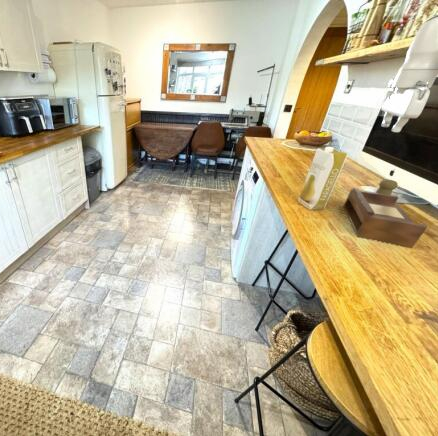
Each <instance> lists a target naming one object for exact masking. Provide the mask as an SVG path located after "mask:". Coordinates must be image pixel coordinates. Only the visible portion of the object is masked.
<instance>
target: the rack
mask: <svg viewBox="0 0 438 436" xmlns="http://www.w3.org/2000/svg"><path fill="white" fill-rule="evenodd" d="M375 192H376V191H375ZM375 192H373V191H369V190H368V191H367V190H361V189H360V188H357V187H356V188H355V187H353V188H351V190H350V191H349V193H348V196H347V198H346V200H345V202H344V204H343V206H342V208H343V210H344V211H345V214H346V216H347V218H348V220H349V223H350V225H351V227H352V229H353V231H354V234H355V235H357V236H356V238H360V237H361V238H360V239H364V238H366V240H369V239H372V240H371V241H374V240H377V241H376V242H379V241H381V242H380V243H384V242H386V243H385V244H388V243H391V244H390V245H393V244H396V245H395V246H398V245H400V246H399V247H402V248H408V249H413V248H414V246H415V245H416V243H417V242H419V240H420V238H421V236H422V235H423V234H424V232H426V230H427V228H428V226H427V225H426V224H423V223H419V222H414V220H413V219H412V218H411V217H410V216H409V214H407V213H406V211H404V210H403V208H401V206H400V205H399V204H398V202H397V201H398V199H399V196H398V195H395V194H391V195H389V194H382V193H375Z"/></svg>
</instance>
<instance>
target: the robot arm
mask: <svg viewBox="0 0 438 436" xmlns="http://www.w3.org/2000/svg"><path fill="white" fill-rule="evenodd" d="M405 55H406V56H405V60H404V61H403V64H402V65H401V66H400V68H399V70H397V73H396V75H395V77H393V78H392V79H390V80H389V82H388V85H387V87H388V89H387V91H386V93H385V95H384V98H383V101H382V104H381V109H380V111H382V112H385V113H384V115H383V119H382V122H381V127H383V128H389V127H390V125H391V124H392V119H393V116H397V117H398V118H397V121H396V122H395V124H393V125H392V128H391V132H393V133H400V132H401V131H402V129H403V127H404V126H405V125H406V124H407V123H408V122H409V120H410V119H417V118H418V117H419V116H420V115H421V114H422V112H423V110H424V108H425V106H426V104H427V102H428V99H429V97H430V94H431V90H430V89H431V88H432V86H433V84H434V82H435V81H436V79H437V77H438V14H437V15H435V16H432V17H431V18H428V19H427V20H426V21H424V22H423V24H422V25H421V26H420V28H419V29H418V31H417V33H416V34H415V36H414V37H413V40H412V42H411V43H410V45H409V48H408V50H407V51H406V54H405Z"/></svg>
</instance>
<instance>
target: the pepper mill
mask: <svg viewBox="0 0 438 436" xmlns="http://www.w3.org/2000/svg"><path fill="white" fill-rule="evenodd" d="M398 184H399V183H398V181H396V180H393V179H388V178H385V179H382V180H380V182H379V183H378V189H376V190H375V193H382V194H389V195H392V193H393V191H394V190H396V189H397V187H398Z"/></svg>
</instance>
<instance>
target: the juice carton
mask: <svg viewBox="0 0 438 436" xmlns="http://www.w3.org/2000/svg"><path fill="white" fill-rule="evenodd" d="M348 157H349V153H348V152H344V151H340V150H337V149H335V147H332V146H326V147H321V148H319V147H318V148H317V149H316V151H315V153H314V156H313V159H312V162H311V164H310V167H309V170H308V173H307V176H306V178H305V180H304V184H303V186H302V188H301V191H300V193H299V197H298V201H297V202H298V203H299V204H300V205H302V206H303V207H305V208H306V209H307V210H309V211H319V210H320V211H321V210H324V209H325V208H326V206H327V205H328V202H329V200H330V198H331V196H332V194H333V191H334V189H335V187H336V184H337V182H338V179H339V177H340V175H341V172H342V170H343V168H344V166H345V164H346V161H347V160H348V159H347V158H348ZM344 163H345V164H344Z"/></svg>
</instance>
